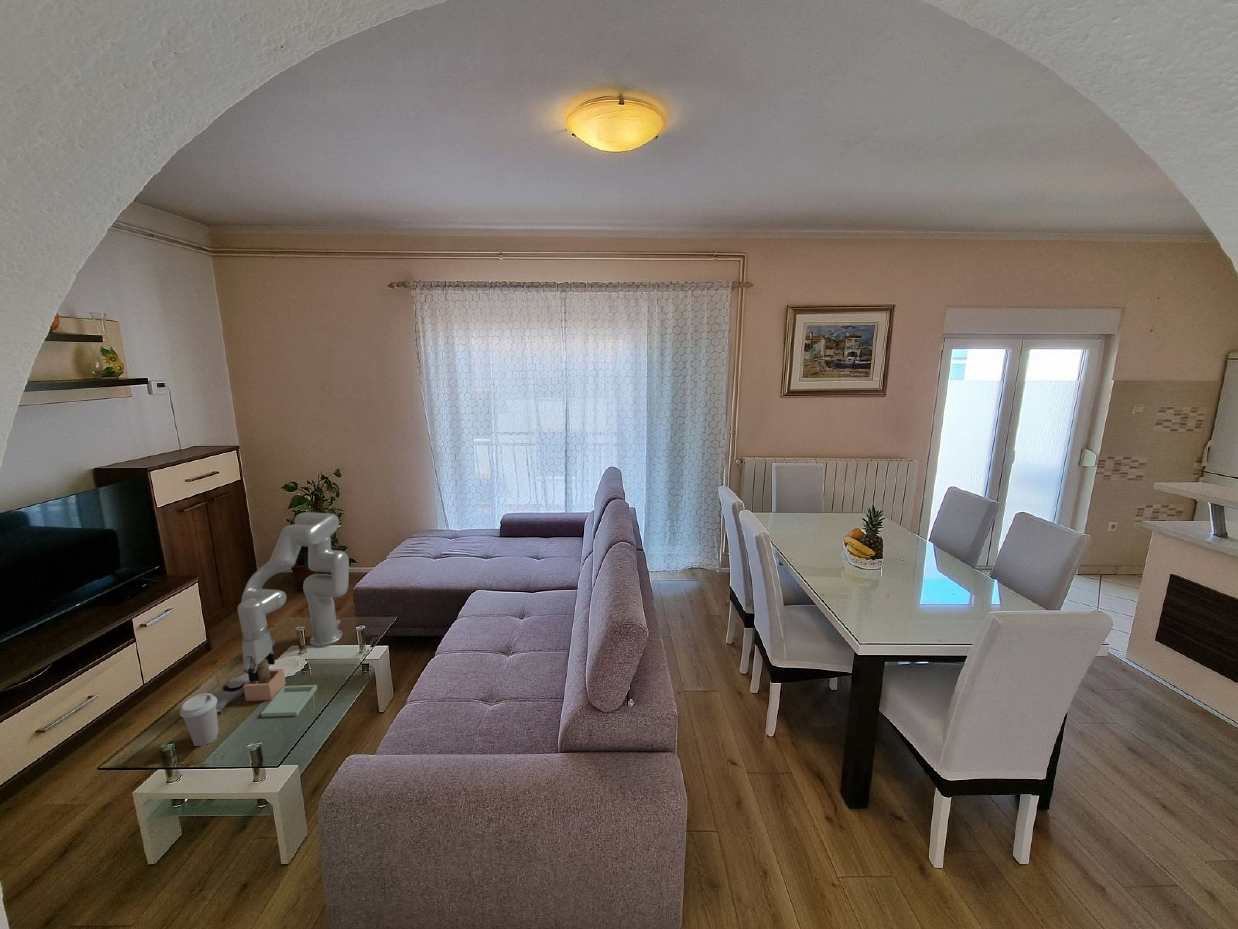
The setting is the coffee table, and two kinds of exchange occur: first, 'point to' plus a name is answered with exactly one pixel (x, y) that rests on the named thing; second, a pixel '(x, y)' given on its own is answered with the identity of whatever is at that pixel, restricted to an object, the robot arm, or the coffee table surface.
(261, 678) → the peg
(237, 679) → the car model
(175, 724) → the coffee table surface
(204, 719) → the coffee cup
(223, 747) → the coffee table surface
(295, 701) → the tray
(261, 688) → the pink storage bin
